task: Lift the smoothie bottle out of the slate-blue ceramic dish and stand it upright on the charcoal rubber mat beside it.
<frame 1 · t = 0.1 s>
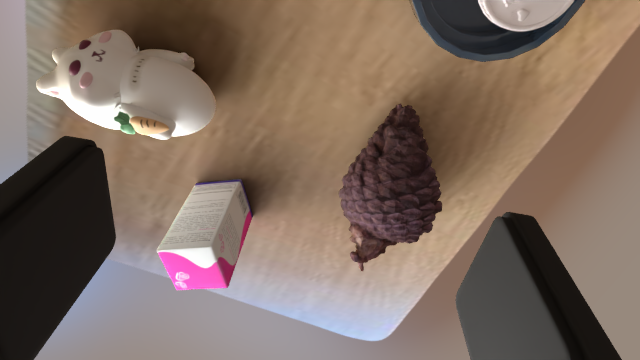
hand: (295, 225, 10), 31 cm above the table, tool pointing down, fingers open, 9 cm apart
cat figurine: (150, 75, 41), on the table
pine cone: (388, 169, 45), on the table
supplement box: (225, 199, 49), on the table
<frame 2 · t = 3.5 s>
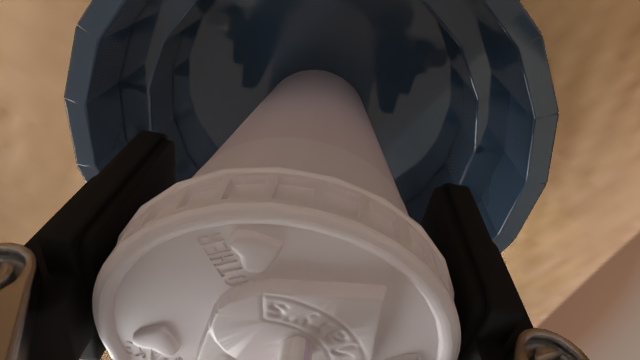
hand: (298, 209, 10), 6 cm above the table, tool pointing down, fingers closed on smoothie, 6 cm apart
smoothie: (315, 116, 15), resting on dish, touching gripper
dish: (315, 115, 15), on the table
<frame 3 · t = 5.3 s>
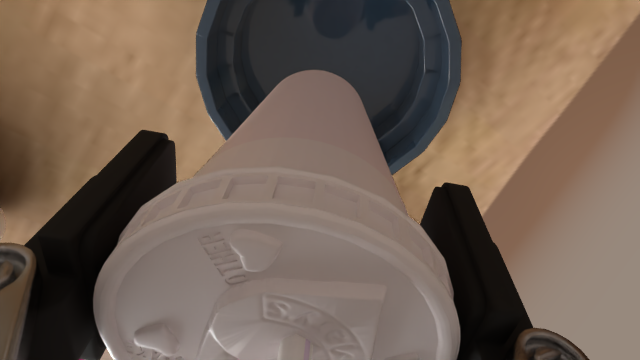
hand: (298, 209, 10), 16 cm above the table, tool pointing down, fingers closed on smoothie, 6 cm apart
smoothie: (315, 116, 15), point 11 cm above the table, touching gripper
dish: (329, 57, 25), on the table
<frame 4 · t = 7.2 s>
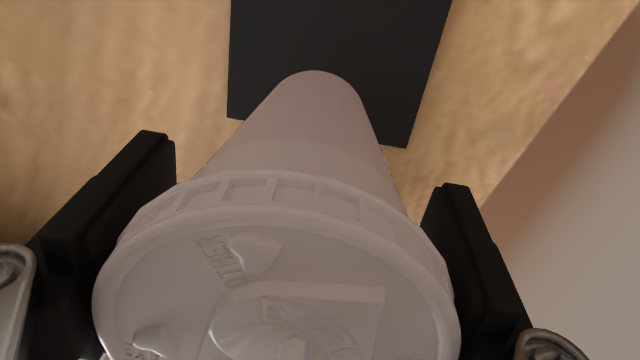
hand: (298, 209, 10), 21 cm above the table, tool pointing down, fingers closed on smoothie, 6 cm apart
smoothie: (315, 117, 15), point 15 cm above the table, touching gripper
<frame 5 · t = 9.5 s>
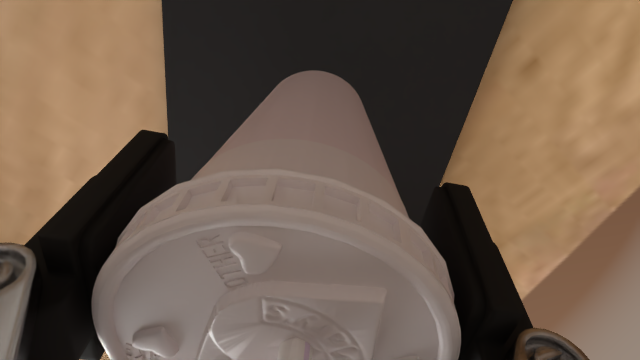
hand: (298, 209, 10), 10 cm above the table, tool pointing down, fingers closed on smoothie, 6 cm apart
smoothie: (315, 117, 15), point 5 cm above the table, touching gripper
mat: (320, 74, 19), on the table
when the fingers open (6 cm above the table, at t = 11.0 s): smoothie stays where it is, resting on mat.
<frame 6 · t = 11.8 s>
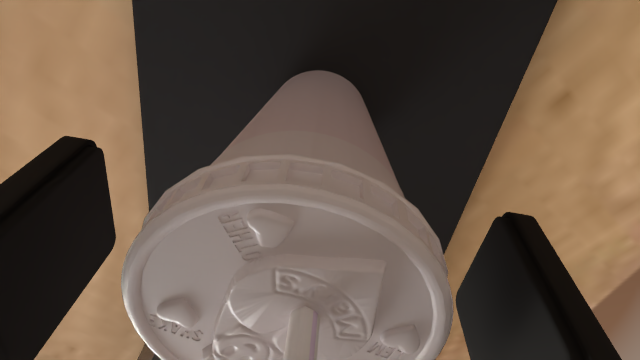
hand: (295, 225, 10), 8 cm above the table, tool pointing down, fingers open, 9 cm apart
smoothie: (318, 115, 16), point 1 cm above the table, touching mat
mat: (319, 107, 17), on the table
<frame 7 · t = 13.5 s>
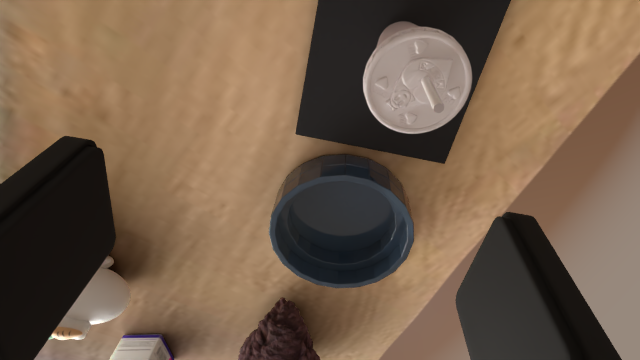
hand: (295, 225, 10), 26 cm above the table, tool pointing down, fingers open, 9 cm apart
smoothie: (400, 45, 33), point 1 cm above the table, touching mat
dish: (341, 210, 42), on the table
mat: (399, 42, 33), on the table
cat figurine: (79, 263, 49), on the table
pine cone: (285, 332, 53), on the table
supplement box: (149, 346, 57), on the table
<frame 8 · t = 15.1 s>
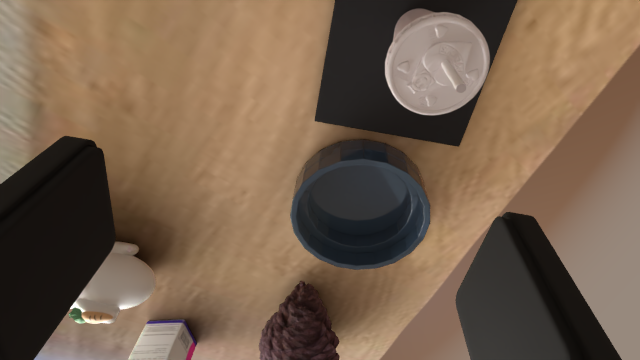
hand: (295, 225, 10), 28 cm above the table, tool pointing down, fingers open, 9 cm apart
smoothie: (416, 31, 34), point 1 cm above the table, touching mat
dish: (358, 195, 44), on the table
mat: (415, 29, 34), on the table
cat figurine: (105, 251, 51), on the table
pine cone: (303, 315, 55), on the table
supplement box: (172, 331, 59), on the table
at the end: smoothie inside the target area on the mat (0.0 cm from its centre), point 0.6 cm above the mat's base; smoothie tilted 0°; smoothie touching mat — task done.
